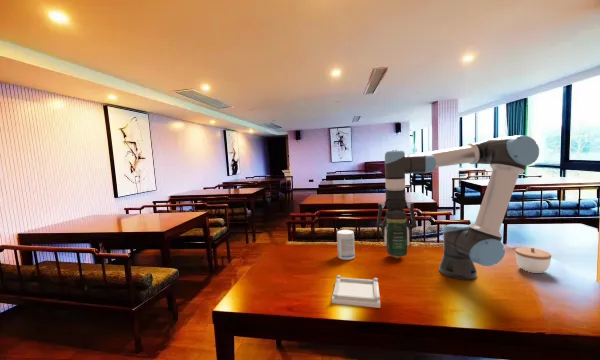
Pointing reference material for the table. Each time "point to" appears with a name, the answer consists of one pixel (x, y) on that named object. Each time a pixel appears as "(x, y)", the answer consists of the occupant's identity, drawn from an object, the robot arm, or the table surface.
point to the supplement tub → (345, 244)
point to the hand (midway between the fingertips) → (396, 244)
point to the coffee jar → (396, 233)
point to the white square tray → (356, 292)
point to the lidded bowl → (533, 259)
